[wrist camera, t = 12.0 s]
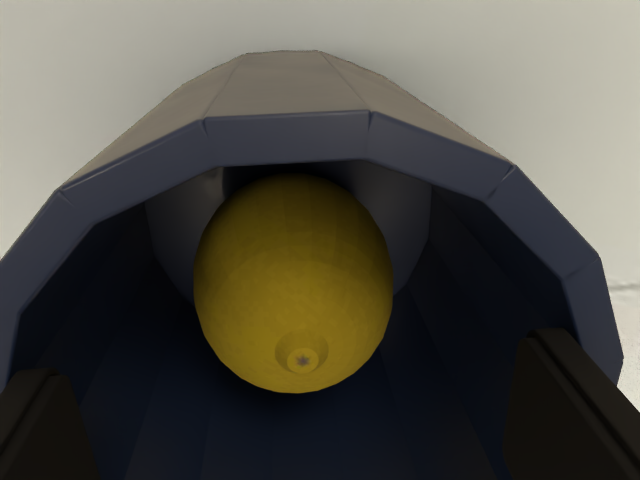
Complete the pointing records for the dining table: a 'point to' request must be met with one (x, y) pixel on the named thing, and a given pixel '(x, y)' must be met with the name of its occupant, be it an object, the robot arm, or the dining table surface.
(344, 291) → the lemon
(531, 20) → the dining table surface
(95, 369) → the tin
